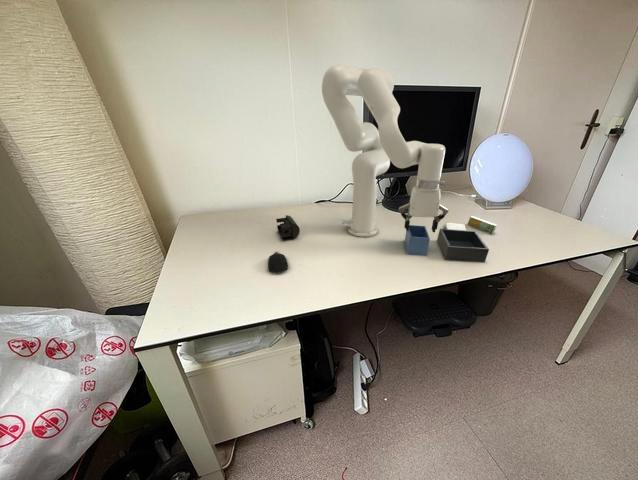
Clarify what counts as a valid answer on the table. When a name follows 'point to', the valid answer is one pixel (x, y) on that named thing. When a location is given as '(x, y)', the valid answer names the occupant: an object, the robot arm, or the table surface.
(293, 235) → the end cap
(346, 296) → the table surface
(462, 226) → the hard drive
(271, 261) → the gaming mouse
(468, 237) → the box
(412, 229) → the blue bin
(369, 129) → the robot arm
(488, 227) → the medication box
